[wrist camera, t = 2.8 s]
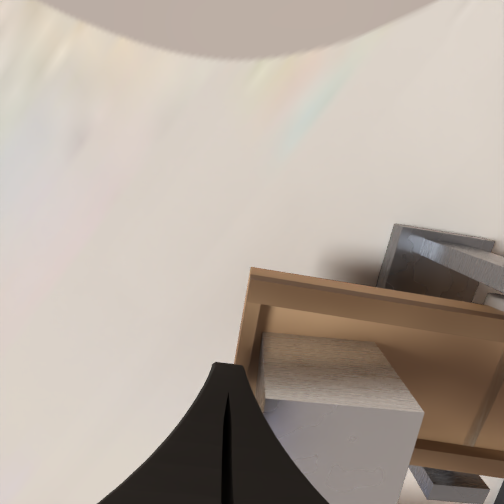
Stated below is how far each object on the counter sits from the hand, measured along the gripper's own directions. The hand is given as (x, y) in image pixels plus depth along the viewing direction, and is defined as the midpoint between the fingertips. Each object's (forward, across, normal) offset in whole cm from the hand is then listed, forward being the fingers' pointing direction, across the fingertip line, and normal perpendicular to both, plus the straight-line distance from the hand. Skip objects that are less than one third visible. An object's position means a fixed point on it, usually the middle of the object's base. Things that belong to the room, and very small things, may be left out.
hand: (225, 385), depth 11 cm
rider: (+2, -4, +1) cm, 4 cm away
